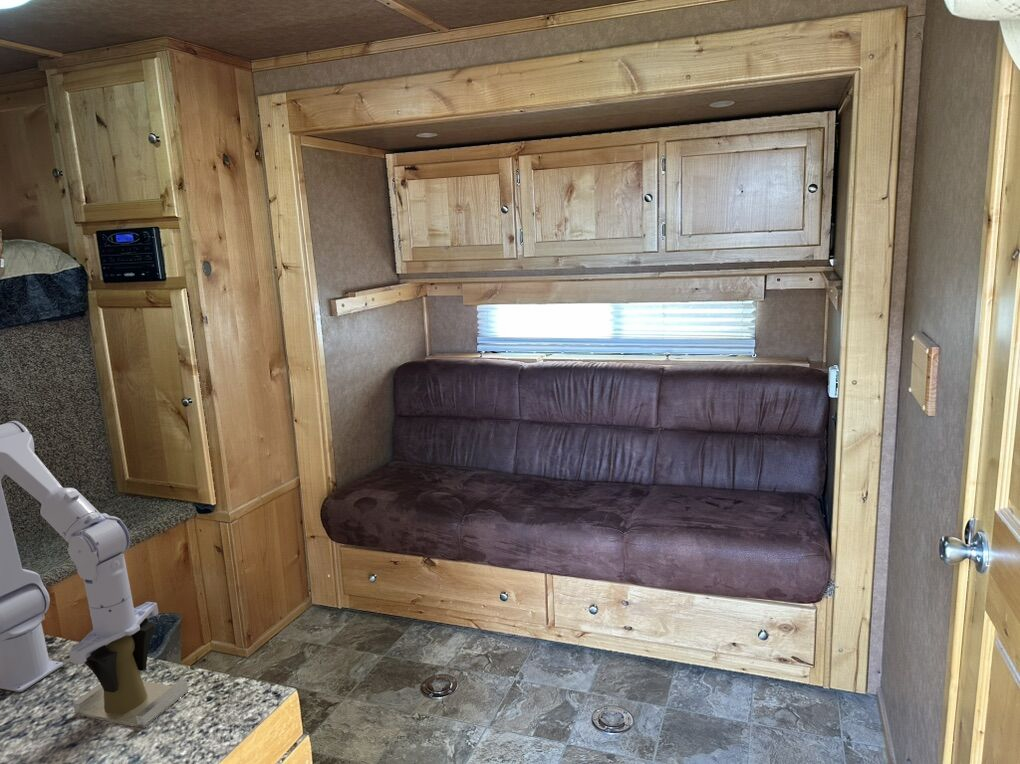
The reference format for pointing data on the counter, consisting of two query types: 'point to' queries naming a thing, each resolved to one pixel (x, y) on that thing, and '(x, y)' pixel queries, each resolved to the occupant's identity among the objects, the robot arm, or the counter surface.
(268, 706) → the counter surface
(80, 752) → the counter surface
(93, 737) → the counter surface
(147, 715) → the bottom track
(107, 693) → the brown rounded piece
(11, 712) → the counter surface
